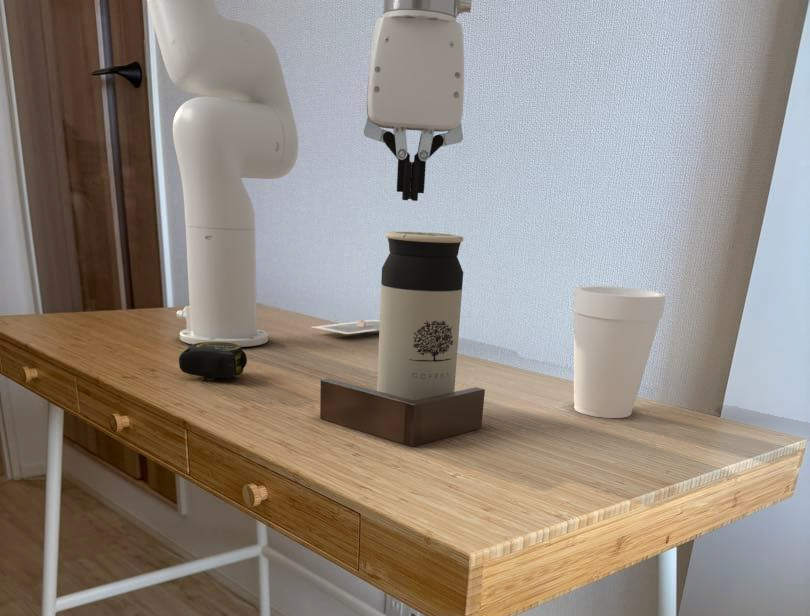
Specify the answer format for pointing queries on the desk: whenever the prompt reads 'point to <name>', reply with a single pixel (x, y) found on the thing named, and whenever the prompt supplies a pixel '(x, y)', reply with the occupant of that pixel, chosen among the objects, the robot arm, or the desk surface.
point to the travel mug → (419, 315)
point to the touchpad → (352, 327)
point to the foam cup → (612, 346)
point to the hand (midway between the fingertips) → (409, 199)
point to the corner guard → (401, 412)
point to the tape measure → (213, 360)
